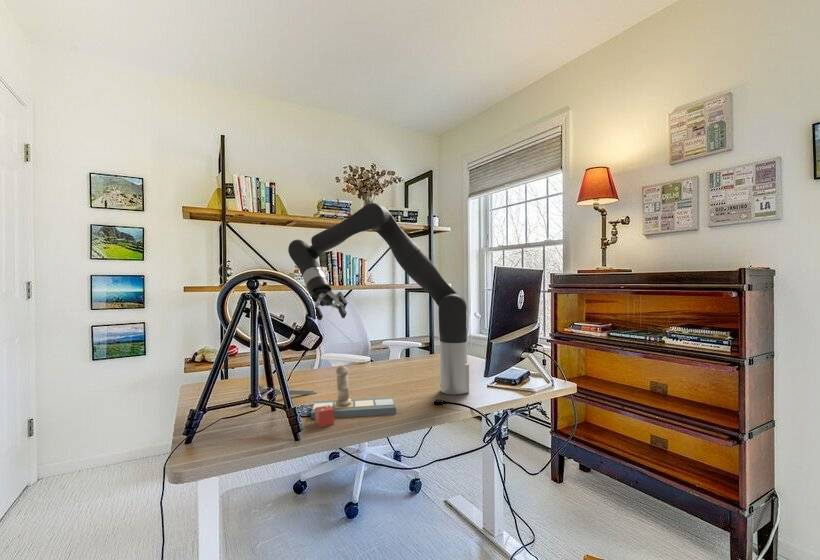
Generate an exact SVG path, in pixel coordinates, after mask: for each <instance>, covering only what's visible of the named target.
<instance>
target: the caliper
mask: <svg viewBox="0 0 820 560" xmlns="http://www.w3.org/2000/svg"><path fill="white" fill-rule="evenodd" d="M267 388H268V387H264V384H263V383H262V384H261V385H260V384H259V391H260V393H262V392H265V391H267ZM274 388H275V391H276V397H275V398H277V397H278V395H281V392H280V389H279V388H277V387H274ZM289 390H290V393H291V395H290V396H292V395H295V396H297V395H298V396H300V395H301V396H310V395H314V394H318V392H317V391H315V390H313V389H289Z"/></svg>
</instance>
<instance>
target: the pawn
mask: <svg viewBox="0 0 820 560" xmlns="http://www.w3.org/2000/svg"><path fill="white" fill-rule="evenodd" d="M348 370H349V369H348V368H347V367H346V366H345V365H340V366H338V367H337V368H336V371H335V373H336V387H337V399H336V405H337V406H348V405H350V404H351V400H352V399H351V398H350V396H349V376H348V372H349V371H348Z"/></svg>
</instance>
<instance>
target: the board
mask: <svg viewBox="0 0 820 560" xmlns="http://www.w3.org/2000/svg"><path fill="white" fill-rule="evenodd" d="M336 400H337V399H336ZM336 400H321V401H313V404H312V408H311V412H310V419H311V418H315V408H316V407H322V406H328V405H330V406H331V407H332V408H333V409H334V417H336V418H348V416H352V417H362V416H363V417H365V416H367V417H369V416H381V415H382V416H383V415H397V406H396V403H395V400H394V398H393V396H392V397H391V396H389V397H375V398H373V397H372V398H357V399H356V398H355V399H353V398H352V399H351V404H350V405H348V406H337V405H336Z"/></svg>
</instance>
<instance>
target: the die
mask: <svg viewBox="0 0 820 560" xmlns="http://www.w3.org/2000/svg"><path fill="white" fill-rule="evenodd" d="M314 422H315V424H316V423H317V424H318V425H317V424H316V425H317V426H318V428H321V427H320V426H322V427H326V426H325V425H327V426H331V425H330V424H333V425H335V418H334V409H333V408H332V407H331V406H330V405H328V406H322V407H316V408H315V419H314Z"/></svg>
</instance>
